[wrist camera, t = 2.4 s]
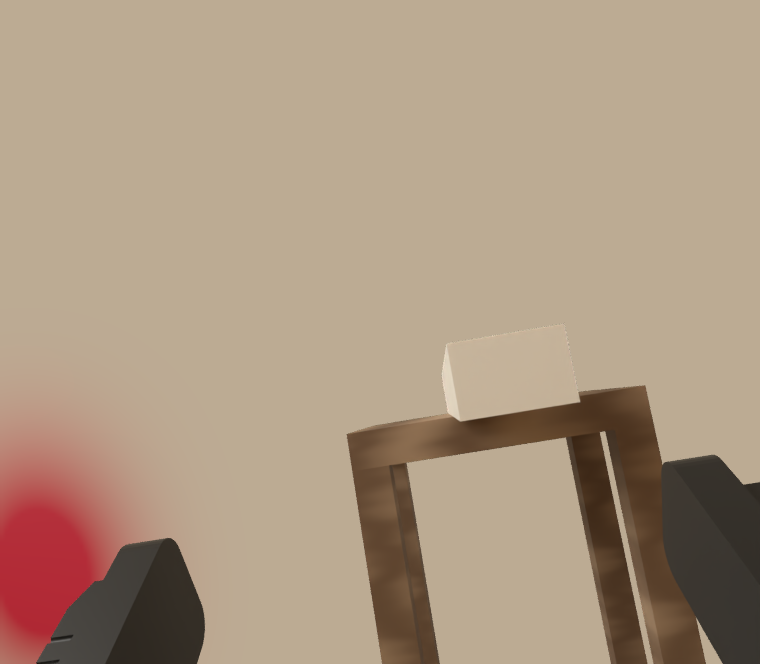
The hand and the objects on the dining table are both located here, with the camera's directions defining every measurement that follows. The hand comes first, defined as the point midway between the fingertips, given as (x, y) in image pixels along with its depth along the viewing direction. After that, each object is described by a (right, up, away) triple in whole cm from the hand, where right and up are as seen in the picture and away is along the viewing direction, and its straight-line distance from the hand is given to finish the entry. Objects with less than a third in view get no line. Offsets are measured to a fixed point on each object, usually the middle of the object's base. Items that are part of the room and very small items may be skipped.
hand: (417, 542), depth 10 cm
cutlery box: (+6, -1, +26) cm, 27 cm away
